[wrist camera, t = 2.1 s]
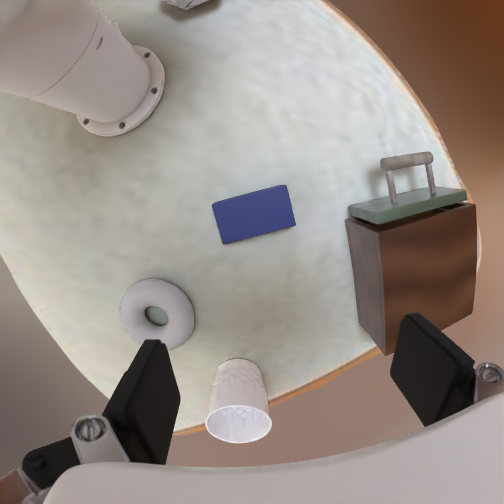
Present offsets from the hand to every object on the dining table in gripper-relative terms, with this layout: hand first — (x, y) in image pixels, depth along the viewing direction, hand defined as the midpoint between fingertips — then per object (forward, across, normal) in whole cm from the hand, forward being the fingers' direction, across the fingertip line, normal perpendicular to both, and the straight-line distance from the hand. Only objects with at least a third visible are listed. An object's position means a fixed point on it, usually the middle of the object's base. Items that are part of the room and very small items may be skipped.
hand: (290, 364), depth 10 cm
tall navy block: (+23, 0, -3) cm, 24 cm away
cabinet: (+24, -19, +4) cm, 31 cm away
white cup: (+24, +4, +20) cm, 31 cm away
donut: (+24, +13, +8) cm, 28 cm away
